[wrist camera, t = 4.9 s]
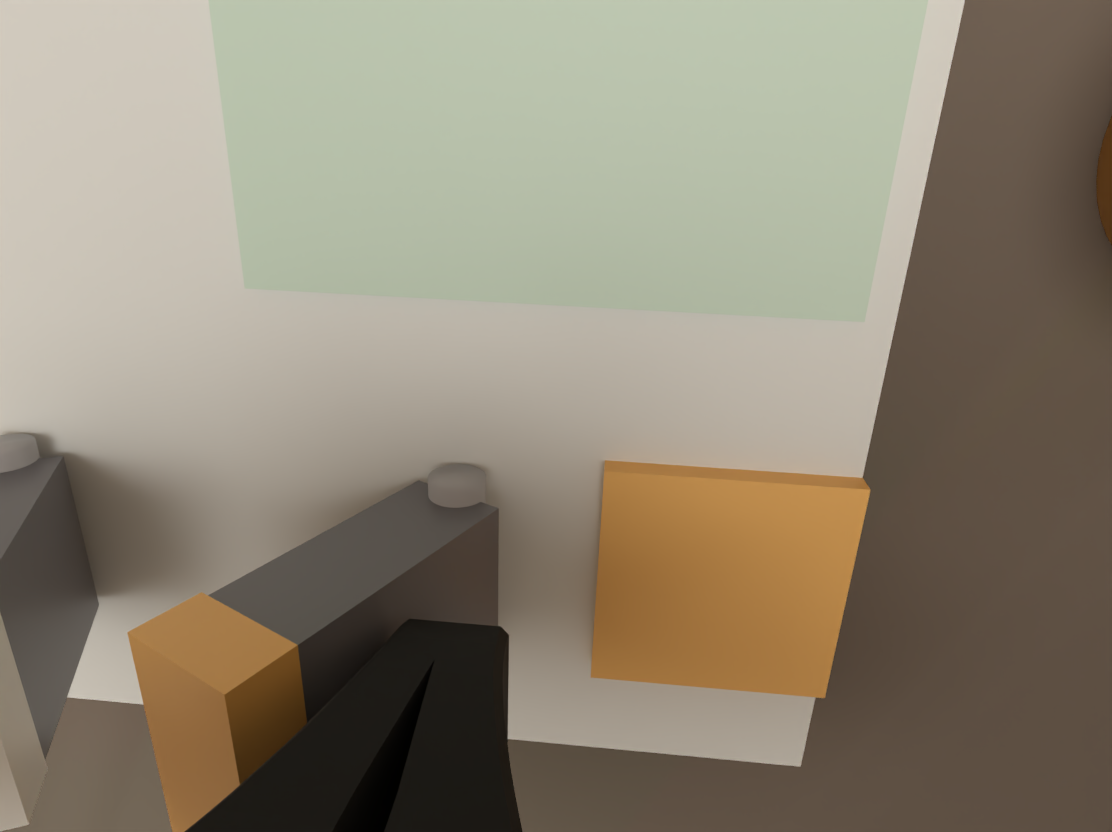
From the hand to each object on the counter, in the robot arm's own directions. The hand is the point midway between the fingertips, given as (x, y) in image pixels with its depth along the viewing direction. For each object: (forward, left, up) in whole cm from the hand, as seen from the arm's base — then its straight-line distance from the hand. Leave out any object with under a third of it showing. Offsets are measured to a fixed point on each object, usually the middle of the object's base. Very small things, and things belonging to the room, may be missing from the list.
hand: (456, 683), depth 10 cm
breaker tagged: (0, 0, -3) cm, 3 cm away
